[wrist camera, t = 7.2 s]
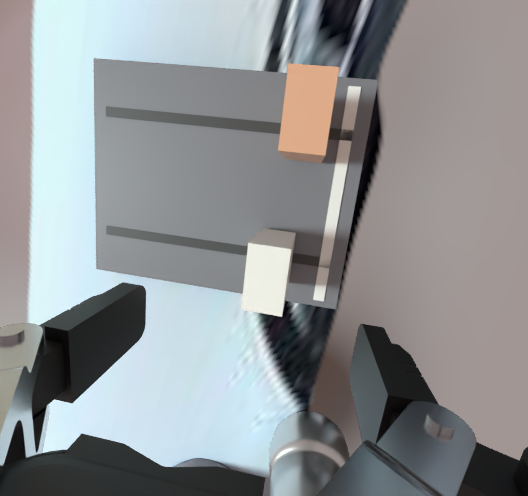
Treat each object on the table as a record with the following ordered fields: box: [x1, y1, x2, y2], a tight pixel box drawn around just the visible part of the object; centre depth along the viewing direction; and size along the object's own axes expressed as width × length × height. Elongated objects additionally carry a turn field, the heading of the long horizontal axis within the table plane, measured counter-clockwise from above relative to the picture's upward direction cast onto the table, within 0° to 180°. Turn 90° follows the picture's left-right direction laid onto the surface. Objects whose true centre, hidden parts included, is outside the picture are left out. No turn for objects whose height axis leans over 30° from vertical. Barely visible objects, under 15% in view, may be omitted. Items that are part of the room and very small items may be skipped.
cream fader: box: [241, 228, 296, 317], centre depth 19 cm, size 2×4×6 cm, turn 173°
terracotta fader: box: [278, 64, 339, 163], centre depth 17 cm, size 2×4×6 cm, turn 173°
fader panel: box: [94, 58, 378, 309], centre depth 23 cm, size 20×16×2 cm
